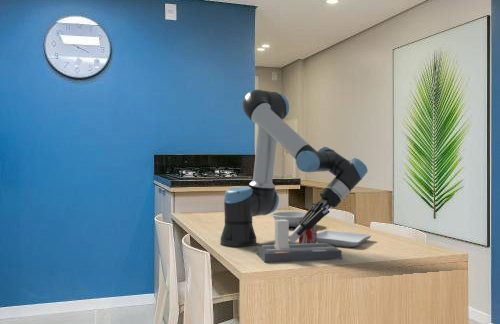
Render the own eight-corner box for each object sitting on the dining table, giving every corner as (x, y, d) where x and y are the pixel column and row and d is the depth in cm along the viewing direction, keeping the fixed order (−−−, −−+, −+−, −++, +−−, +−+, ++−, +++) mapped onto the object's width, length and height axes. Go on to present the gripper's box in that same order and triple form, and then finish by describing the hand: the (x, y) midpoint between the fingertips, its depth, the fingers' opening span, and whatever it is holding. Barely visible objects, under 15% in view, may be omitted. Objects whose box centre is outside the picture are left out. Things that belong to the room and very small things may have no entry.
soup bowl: (316, 231, 222) (316, 217, 222) (267, 229, 226) (267, 216, 226) (316, 223, 246) (316, 211, 246) (273, 222, 249) (273, 210, 249)
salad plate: (372, 241, 196) (372, 233, 196) (357, 250, 177) (357, 241, 177) (325, 237, 207) (325, 229, 206) (307, 244, 188) (307, 236, 188)
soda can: (307, 249, 177) (307, 219, 177) (295, 246, 183) (295, 217, 182) (320, 247, 181) (320, 217, 181) (308, 244, 187) (308, 215, 187)
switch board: (256, 254, 168) (256, 244, 168) (328, 251, 173) (328, 241, 173) (264, 262, 155) (264, 251, 155) (341, 258, 161) (341, 248, 161)
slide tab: (274, 247, 166) (274, 219, 166) (284, 246, 166) (284, 219, 166) (278, 250, 160) (278, 221, 160) (289, 250, 161) (289, 221, 160)
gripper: (348, 202, 161) (303, 251, 158) (334, 199, 173) (292, 244, 170) (334, 187, 160) (288, 236, 156) (321, 185, 172) (278, 230, 169)
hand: (290, 240), depth 163 cm, fingers closed
